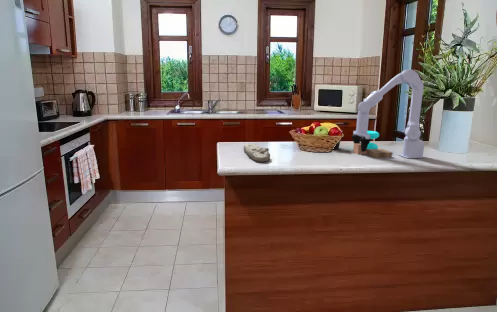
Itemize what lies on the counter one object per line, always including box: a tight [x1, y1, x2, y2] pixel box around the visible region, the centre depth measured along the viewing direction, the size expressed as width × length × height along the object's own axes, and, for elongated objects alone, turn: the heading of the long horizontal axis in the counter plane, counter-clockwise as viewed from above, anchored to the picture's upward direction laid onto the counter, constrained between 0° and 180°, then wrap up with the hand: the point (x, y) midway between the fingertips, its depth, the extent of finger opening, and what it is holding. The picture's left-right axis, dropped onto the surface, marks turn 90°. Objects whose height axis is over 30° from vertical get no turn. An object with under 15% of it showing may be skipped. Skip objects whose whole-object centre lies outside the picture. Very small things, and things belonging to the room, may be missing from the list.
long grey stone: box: [243, 143, 271, 163], centre depth 180 cm, size 35×5×10 cm
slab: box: [365, 148, 393, 159], centre depth 183 cm, size 9×9×3 cm
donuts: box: [367, 130, 380, 149], centre depth 198 cm, size 10×10×10 cm
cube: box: [352, 142, 367, 155], centre depth 188 cm, size 5×5×5 cm
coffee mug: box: [333, 130, 344, 150], centre depth 198 cm, size 12×9×10 cm
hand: (359, 150), depth 188 cm, fingers open, 7 cm apart
